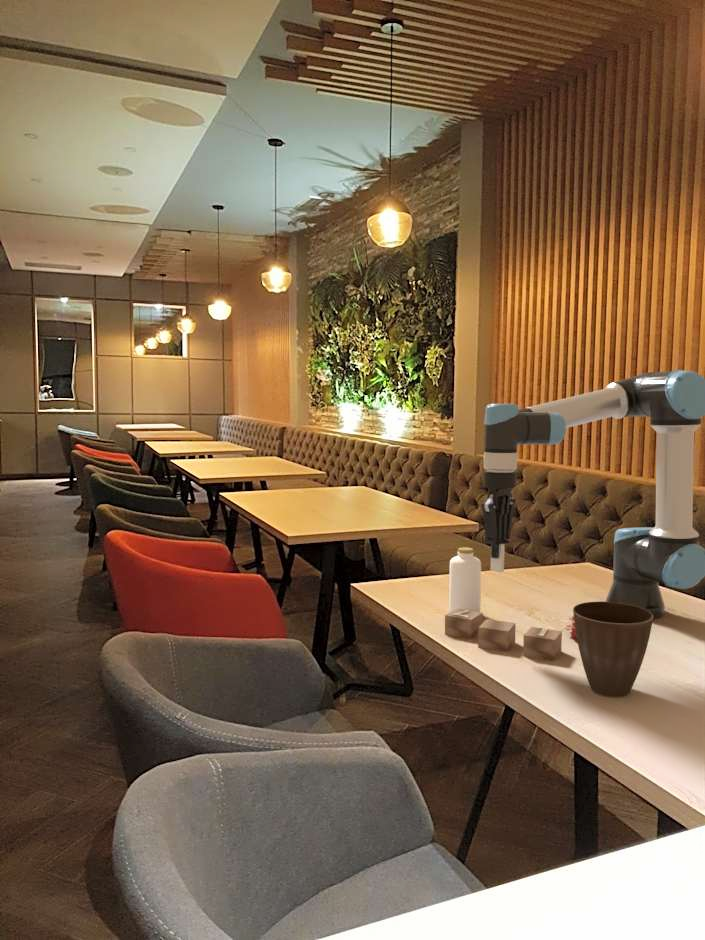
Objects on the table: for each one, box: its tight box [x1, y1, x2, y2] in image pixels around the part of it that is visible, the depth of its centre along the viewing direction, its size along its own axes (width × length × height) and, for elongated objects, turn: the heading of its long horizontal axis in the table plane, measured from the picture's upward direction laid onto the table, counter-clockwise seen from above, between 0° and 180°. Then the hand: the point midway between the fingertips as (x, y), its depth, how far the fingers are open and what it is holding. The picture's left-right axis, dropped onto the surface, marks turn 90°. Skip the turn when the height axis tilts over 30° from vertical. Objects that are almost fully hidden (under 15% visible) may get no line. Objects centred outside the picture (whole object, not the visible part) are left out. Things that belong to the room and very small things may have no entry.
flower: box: [564, 613, 577, 639], centre depth 178 cm, size 10×9×8 cm
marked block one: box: [522, 626, 563, 662], centre depth 167 cm, size 7×7×5 cm
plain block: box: [477, 618, 516, 652], centre depth 174 cm, size 7×7×5 cm
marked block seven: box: [444, 609, 484, 640], centre depth 183 cm, size 7×7×5 cm
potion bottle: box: [448, 546, 482, 613], centre depth 197 cm, size 8×8×18 cm
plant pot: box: [572, 601, 654, 698], centre depth 146 cm, size 15×15×16 cm
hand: (497, 571), depth 172 cm, fingers closed
